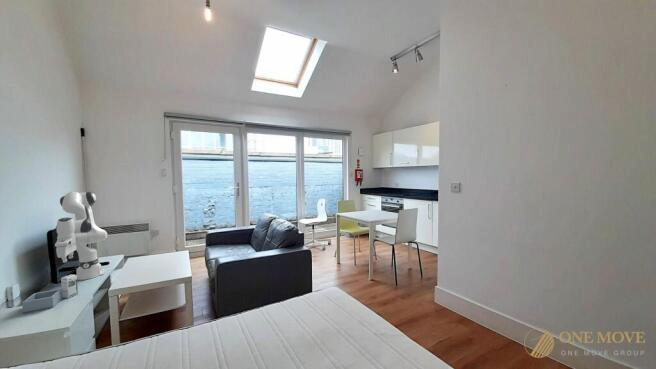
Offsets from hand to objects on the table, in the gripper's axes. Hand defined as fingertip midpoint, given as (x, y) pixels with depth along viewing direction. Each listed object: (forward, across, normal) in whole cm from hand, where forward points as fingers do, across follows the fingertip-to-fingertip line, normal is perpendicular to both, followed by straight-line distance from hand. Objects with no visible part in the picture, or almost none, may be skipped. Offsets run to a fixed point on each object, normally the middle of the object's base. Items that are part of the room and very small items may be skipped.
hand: (67, 260), depth 177 cm
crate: (+26, +9, -10) cm, 29 cm away
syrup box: (+26, 0, 0) cm, 26 cm away
